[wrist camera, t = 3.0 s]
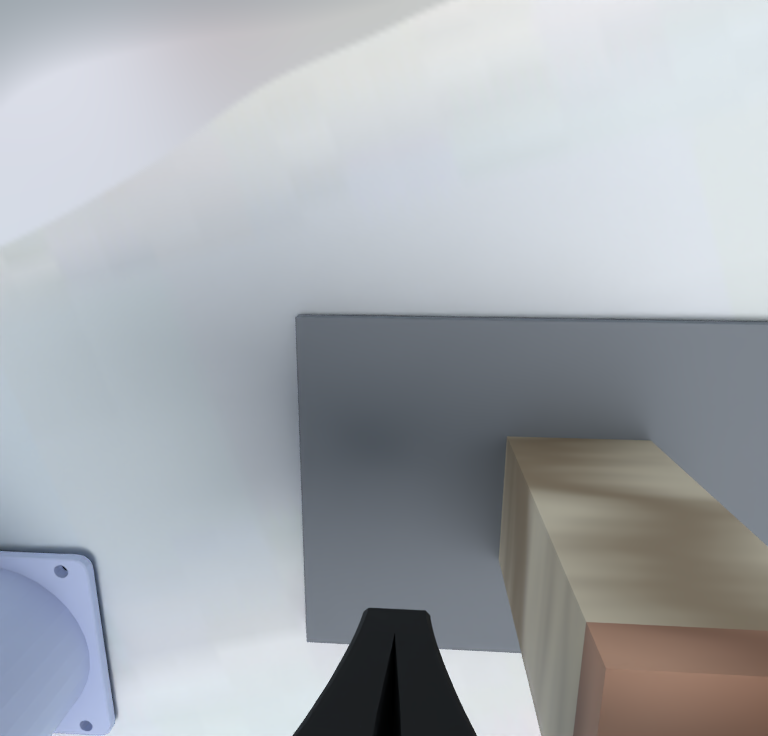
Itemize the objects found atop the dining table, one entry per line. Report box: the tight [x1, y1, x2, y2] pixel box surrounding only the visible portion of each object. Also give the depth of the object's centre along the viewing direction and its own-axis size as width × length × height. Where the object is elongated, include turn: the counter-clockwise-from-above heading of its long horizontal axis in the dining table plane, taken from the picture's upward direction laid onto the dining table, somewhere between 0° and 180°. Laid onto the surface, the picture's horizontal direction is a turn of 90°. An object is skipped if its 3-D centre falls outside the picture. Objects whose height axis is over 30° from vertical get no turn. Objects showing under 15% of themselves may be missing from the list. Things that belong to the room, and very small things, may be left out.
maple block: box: [499, 436, 768, 736], centre depth 13 cm, size 4×4×10 cm
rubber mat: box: [295, 315, 768, 653], centre depth 18 cm, size 22×12×1 cm, turn 90°
